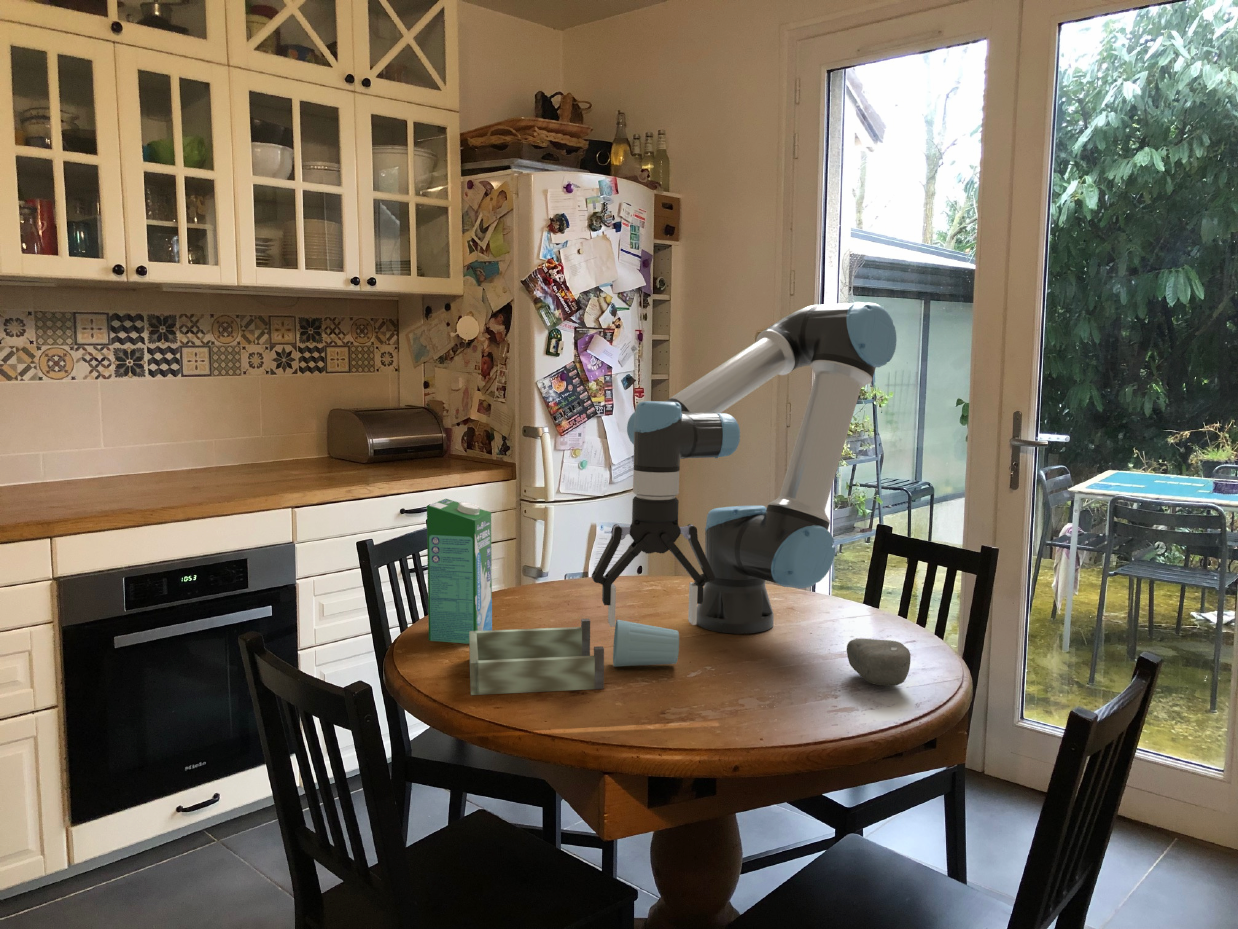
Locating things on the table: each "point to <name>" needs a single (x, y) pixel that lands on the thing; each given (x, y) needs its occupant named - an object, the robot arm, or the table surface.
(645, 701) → the table surface
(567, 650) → the bay
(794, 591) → the table surface
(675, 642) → the cup
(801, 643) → the table surface
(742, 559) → the robot arm
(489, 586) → the milk carton
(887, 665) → the stone
